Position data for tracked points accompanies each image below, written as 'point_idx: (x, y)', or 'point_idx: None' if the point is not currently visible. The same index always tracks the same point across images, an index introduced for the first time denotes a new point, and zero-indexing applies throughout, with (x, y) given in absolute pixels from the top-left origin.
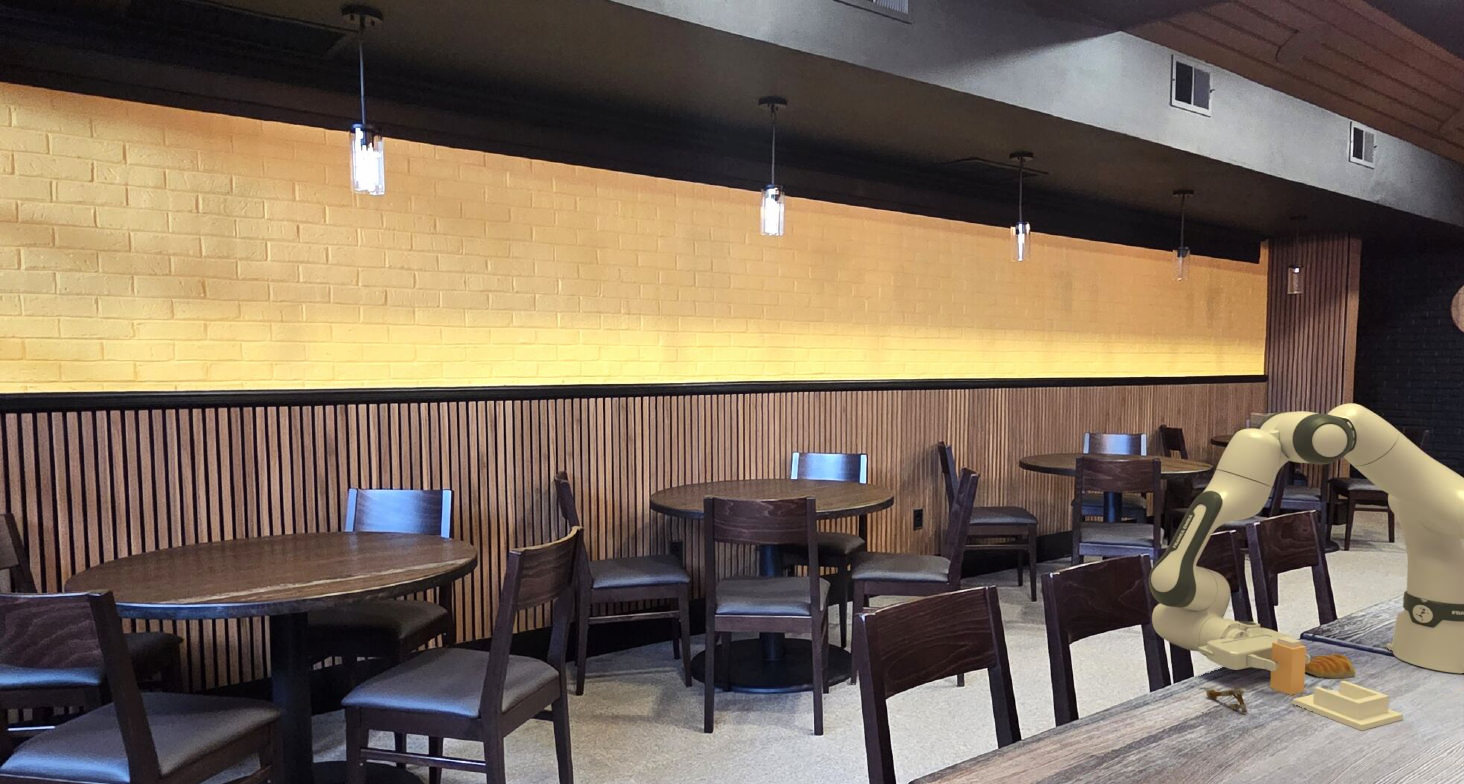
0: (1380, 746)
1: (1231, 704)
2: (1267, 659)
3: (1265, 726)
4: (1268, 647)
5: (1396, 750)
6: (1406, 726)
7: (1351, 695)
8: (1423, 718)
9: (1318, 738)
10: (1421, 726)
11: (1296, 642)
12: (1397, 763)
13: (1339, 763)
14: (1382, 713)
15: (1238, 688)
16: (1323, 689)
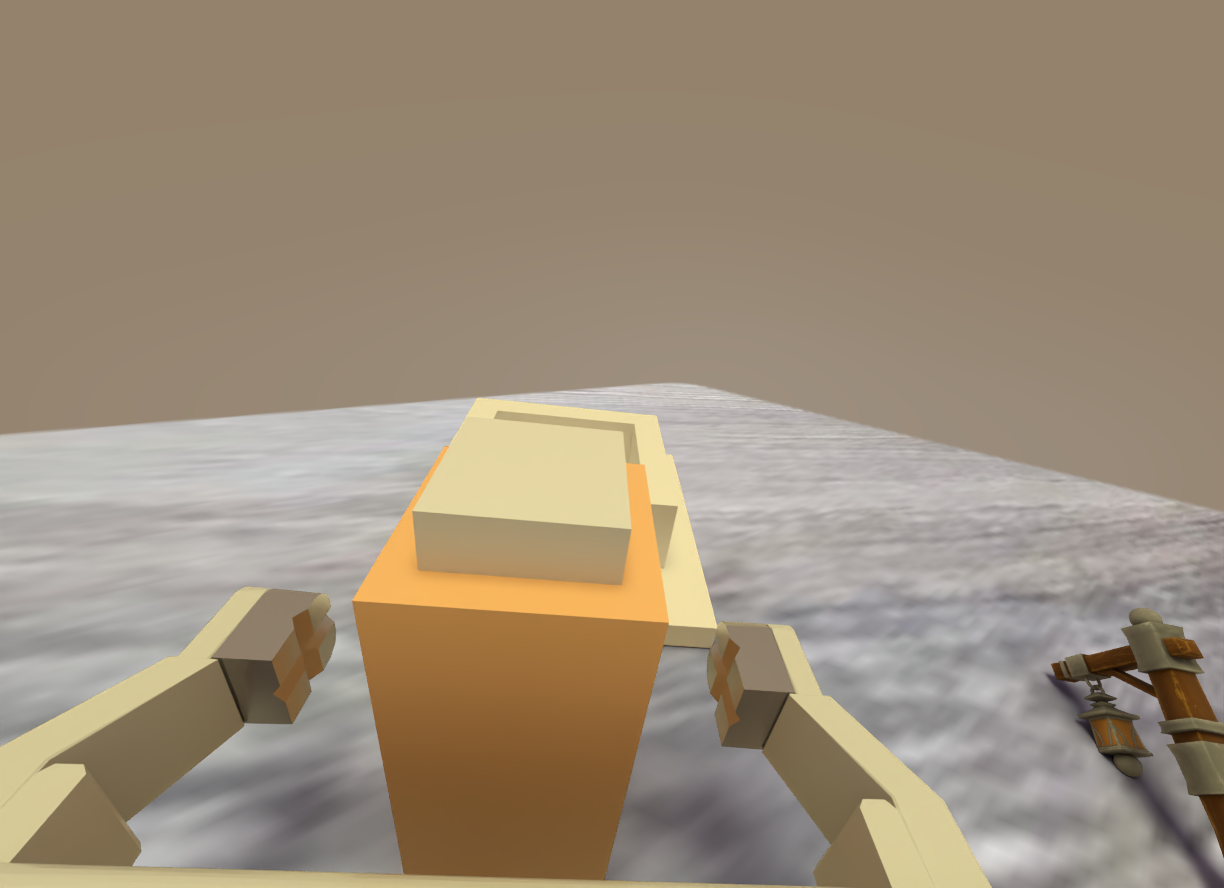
0: (712, 436)
1: (1136, 747)
2: (788, 690)
3: (996, 585)
4: (481, 883)
5: (693, 422)
6: None
7: None
8: (386, 434)
9: (848, 495)
10: None
11: (547, 431)
12: (751, 412)
13: (886, 446)
14: None
15: (1169, 640)
16: (656, 485)
